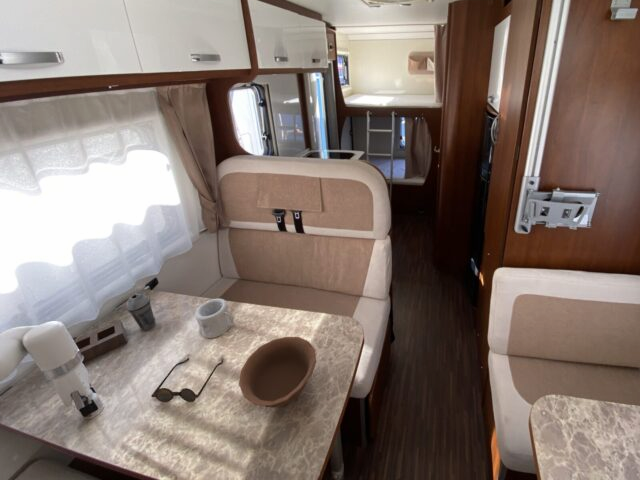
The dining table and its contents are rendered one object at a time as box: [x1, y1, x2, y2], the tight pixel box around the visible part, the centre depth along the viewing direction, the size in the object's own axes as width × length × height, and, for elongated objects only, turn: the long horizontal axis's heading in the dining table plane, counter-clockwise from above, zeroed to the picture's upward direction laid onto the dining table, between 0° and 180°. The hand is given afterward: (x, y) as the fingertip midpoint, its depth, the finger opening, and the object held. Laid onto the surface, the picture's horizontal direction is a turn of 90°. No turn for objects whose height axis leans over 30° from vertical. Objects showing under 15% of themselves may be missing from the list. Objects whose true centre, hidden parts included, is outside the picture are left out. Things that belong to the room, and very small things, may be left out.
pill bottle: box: [82, 389, 105, 420], centre depth 88 cm, size 4×4×8 cm
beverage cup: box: [126, 283, 157, 332], centre depth 116 cm, size 7×7×20 cm
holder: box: [73, 319, 128, 365], centre depth 110 cm, size 16×9×5 cm, turn 133°
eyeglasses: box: [151, 357, 224, 403], centre depth 97 cm, size 15×15×5 cm
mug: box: [194, 298, 235, 339], centre depth 116 cm, size 14×11×10 cm
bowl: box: [238, 336, 317, 409], centre depth 91 cm, size 22×22×11 cm
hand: (90, 405), depth 89 cm, fingers closed on pill bottle, 4 cm apart
